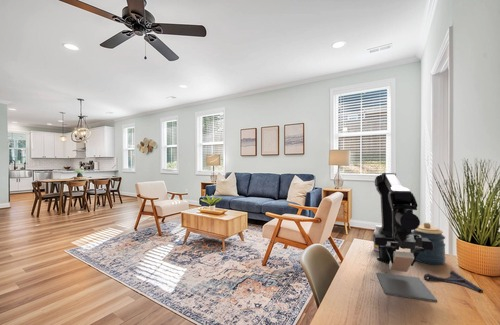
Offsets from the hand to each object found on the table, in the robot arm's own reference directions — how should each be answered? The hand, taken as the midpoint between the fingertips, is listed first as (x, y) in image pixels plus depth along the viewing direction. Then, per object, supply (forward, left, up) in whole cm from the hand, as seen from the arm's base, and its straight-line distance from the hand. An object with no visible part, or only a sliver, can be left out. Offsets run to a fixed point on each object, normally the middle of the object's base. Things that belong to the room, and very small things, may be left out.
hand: (401, 264), depth 87 cm
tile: (-4, +4, -4) cm, 7 cm away
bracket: (+6, +18, -9) cm, 21 cm away
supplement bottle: (-26, +26, -8) cm, 38 cm away
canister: (-8, +34, -8) cm, 36 cm away
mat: (+1, -1, -8) cm, 8 cm away
